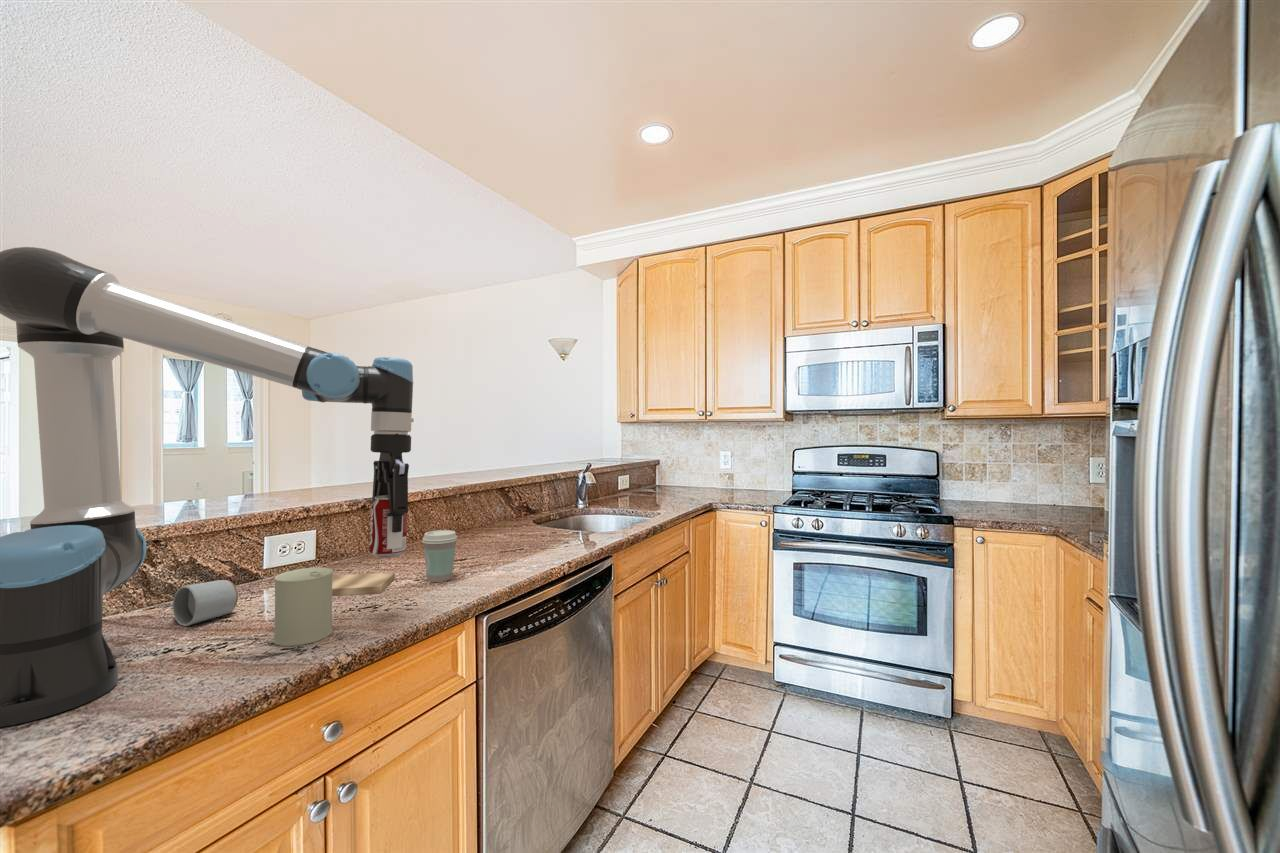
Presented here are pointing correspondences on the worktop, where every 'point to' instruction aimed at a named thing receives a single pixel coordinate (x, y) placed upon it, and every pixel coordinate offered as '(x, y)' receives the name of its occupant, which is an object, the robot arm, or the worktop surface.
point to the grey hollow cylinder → (204, 601)
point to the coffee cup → (439, 554)
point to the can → (303, 606)
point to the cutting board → (360, 583)
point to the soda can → (383, 529)
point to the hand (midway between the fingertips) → (388, 544)
